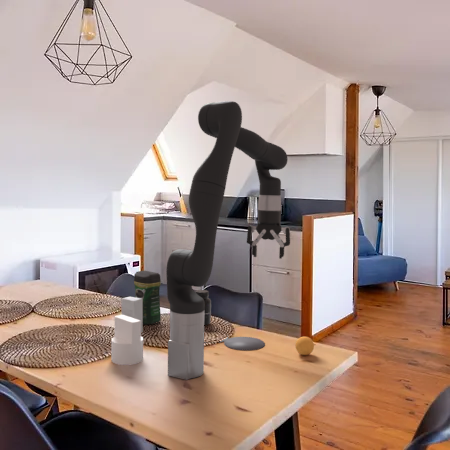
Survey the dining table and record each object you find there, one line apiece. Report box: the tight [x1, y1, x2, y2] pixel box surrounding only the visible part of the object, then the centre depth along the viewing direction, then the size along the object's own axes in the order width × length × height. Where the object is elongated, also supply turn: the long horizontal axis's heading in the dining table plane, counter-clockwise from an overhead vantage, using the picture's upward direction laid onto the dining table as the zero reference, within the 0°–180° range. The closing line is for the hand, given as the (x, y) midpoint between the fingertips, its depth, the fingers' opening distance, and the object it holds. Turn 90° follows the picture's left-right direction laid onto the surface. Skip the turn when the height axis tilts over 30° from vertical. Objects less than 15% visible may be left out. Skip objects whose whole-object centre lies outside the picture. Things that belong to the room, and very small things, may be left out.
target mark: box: [223, 336, 266, 351], centre depth 162 cm, size 13×13×1 cm
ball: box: [295, 336, 315, 356], centre depth 152 cm, size 6×6×6 cm
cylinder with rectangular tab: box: [110, 314, 144, 366], centre depth 145 cm, size 9×9×12 cm
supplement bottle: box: [194, 289, 212, 326], centre depth 183 cm, size 7×7×12 cm
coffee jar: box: [133, 270, 162, 325], centre depth 183 cm, size 10×8×19 cm
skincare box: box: [121, 296, 144, 332], centre depth 170 cm, size 6×4×12 cm
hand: (267, 257), depth 169 cm, fingers open, 8 cm apart
